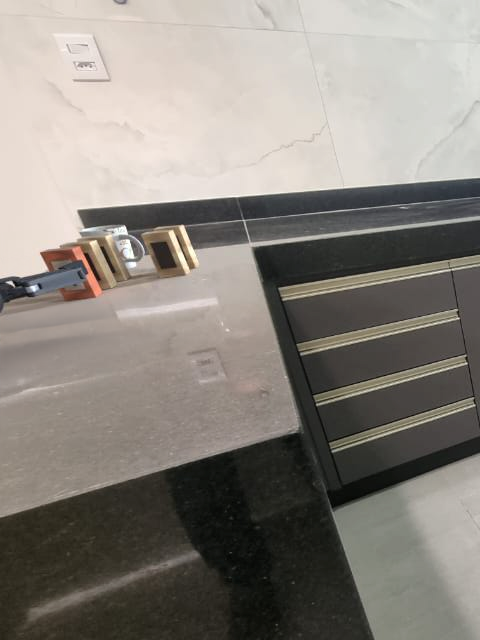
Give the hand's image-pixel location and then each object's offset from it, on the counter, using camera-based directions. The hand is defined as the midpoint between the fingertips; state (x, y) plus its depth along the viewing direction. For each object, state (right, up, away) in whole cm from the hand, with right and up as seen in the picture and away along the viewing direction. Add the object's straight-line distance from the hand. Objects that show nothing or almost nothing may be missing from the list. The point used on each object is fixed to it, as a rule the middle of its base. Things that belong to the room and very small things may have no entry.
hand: (36, 272), depth 97 cm
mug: (-16, +7, +35) cm, 39 cm away
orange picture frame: (-4, -3, +12) cm, 13 cm away
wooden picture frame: (+1, +5, +29) cm, 29 cm away
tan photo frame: (-8, +1, +21) cm, 22 cm away
